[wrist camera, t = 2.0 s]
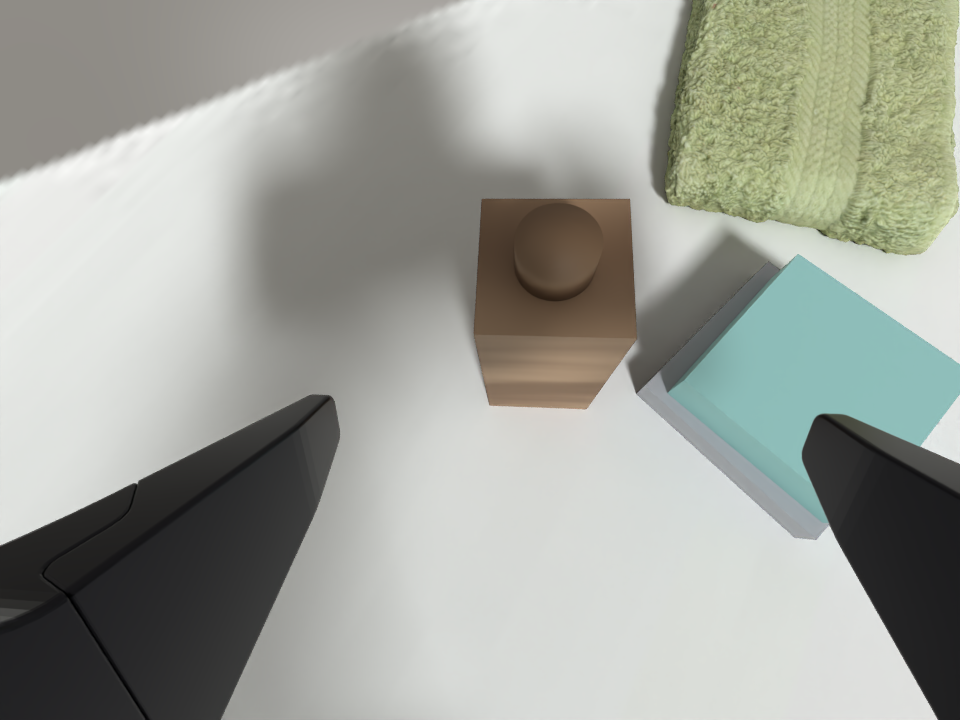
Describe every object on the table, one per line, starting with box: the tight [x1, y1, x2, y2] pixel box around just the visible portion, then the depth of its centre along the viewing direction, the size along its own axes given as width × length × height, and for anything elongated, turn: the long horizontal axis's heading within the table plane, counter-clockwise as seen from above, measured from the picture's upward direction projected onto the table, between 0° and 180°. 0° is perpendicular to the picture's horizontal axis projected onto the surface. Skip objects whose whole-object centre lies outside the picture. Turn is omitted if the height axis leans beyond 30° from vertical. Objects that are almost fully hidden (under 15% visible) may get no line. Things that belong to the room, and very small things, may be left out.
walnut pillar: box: [474, 199, 637, 409], centre depth 17 cm, size 4×4×10 cm
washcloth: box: [665, 0, 959, 255], centre depth 24 cm, size 13×18×3 cm
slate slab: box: [637, 261, 829, 540], centre depth 20 cm, size 8×8×2 cm
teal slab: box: [668, 254, 960, 523], centre depth 18 cm, size 7×7×2 cm
